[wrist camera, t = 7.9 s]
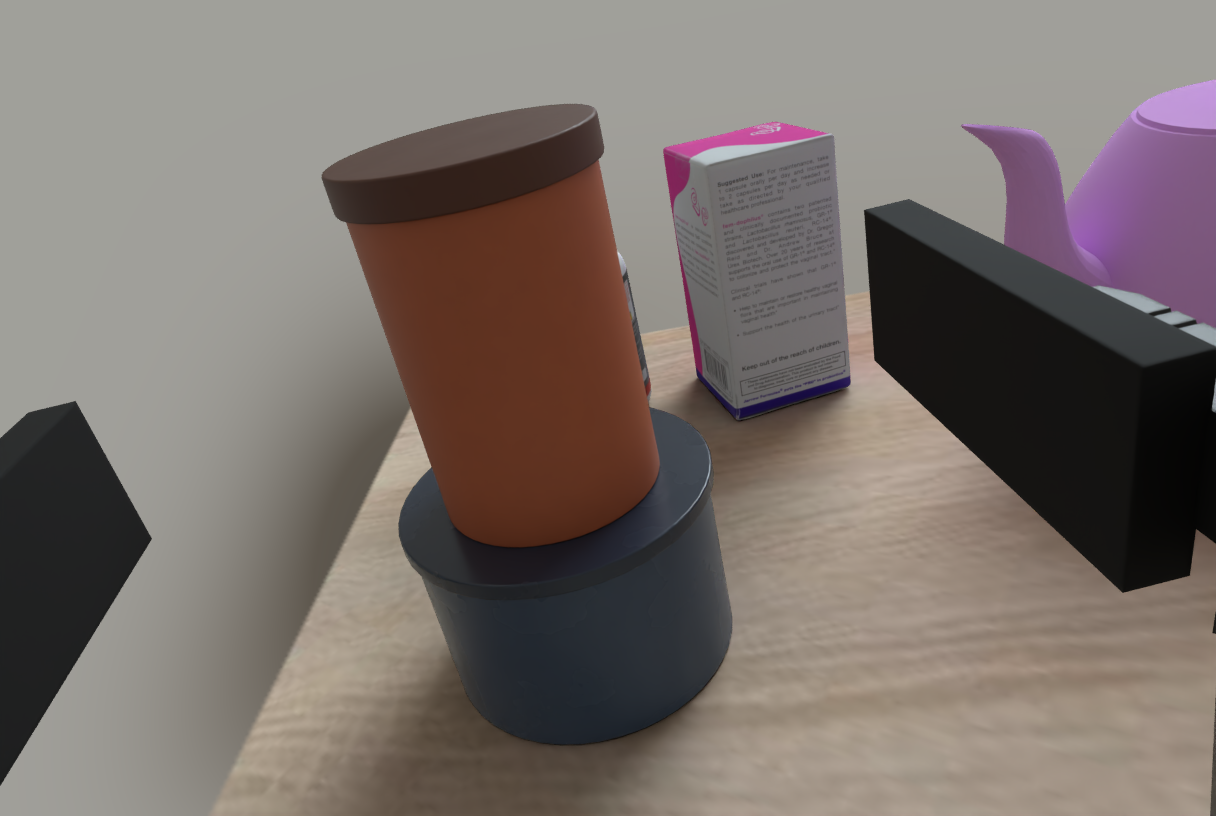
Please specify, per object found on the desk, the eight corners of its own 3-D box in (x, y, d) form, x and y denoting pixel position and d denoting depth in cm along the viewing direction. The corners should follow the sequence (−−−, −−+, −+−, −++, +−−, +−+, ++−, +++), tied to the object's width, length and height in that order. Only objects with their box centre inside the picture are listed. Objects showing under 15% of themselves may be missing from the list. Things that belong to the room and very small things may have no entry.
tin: (539, 812, 22) (477, 642, 20) (413, 632, 30) (357, 491, 27) (802, 632, 26) (781, 468, 23) (632, 512, 34) (601, 377, 31)
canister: (502, 588, 21) (371, 193, 17) (408, 488, 27) (290, 169, 22) (714, 471, 24) (651, 104, 19) (590, 402, 29) (518, 102, 25)
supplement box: (857, 386, 39) (838, 130, 34) (736, 423, 38) (697, 167, 33) (801, 343, 44) (776, 115, 39) (693, 375, 43) (653, 147, 38)
